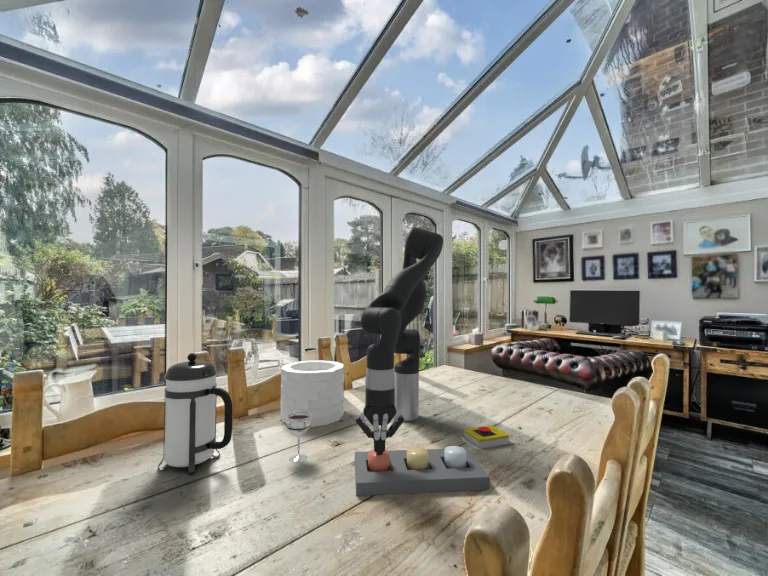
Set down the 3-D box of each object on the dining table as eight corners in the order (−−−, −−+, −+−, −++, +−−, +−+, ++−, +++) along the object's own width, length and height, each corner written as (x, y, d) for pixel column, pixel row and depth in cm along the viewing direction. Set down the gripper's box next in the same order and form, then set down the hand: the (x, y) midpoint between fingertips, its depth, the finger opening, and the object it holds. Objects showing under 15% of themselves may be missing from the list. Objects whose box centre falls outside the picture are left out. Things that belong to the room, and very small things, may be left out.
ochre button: (408, 473, 88) (408, 457, 88) (405, 462, 94) (405, 447, 94) (430, 472, 89) (430, 456, 89) (425, 461, 94) (425, 446, 94)
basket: (276, 409, 141) (277, 362, 141) (334, 402, 151) (335, 358, 151) (285, 432, 118) (285, 376, 118) (352, 422, 128) (353, 370, 128)
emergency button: (459, 425, 115) (496, 420, 121) (459, 439, 115) (496, 433, 121) (476, 436, 107) (515, 430, 112) (476, 451, 107) (515, 444, 112)
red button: (368, 475, 87) (368, 458, 87) (367, 464, 93) (367, 448, 93) (391, 474, 88) (391, 458, 88) (388, 463, 93) (388, 448, 93)
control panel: (356, 496, 82) (356, 483, 82) (354, 462, 97) (354, 451, 98) (489, 489, 85) (489, 477, 85) (466, 458, 101) (467, 447, 101)
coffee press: (153, 485, 85) (156, 360, 86) (160, 457, 99) (162, 350, 100) (231, 469, 93) (233, 355, 94) (227, 445, 107) (229, 347, 108)
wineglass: (315, 455, 102) (315, 413, 102) (302, 465, 96) (302, 421, 96) (294, 451, 104) (295, 410, 104) (281, 461, 98) (281, 418, 98)
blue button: (447, 471, 89) (448, 455, 89) (441, 461, 95) (442, 446, 95) (469, 470, 90) (469, 455, 90) (462, 460, 95) (462, 445, 95)
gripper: (354, 389, 86) (353, 461, 86) (408, 388, 87) (407, 459, 87) (353, 381, 93) (353, 447, 93) (403, 381, 95) (402, 446, 95)
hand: (379, 453), depth 90 cm, fingers closed
